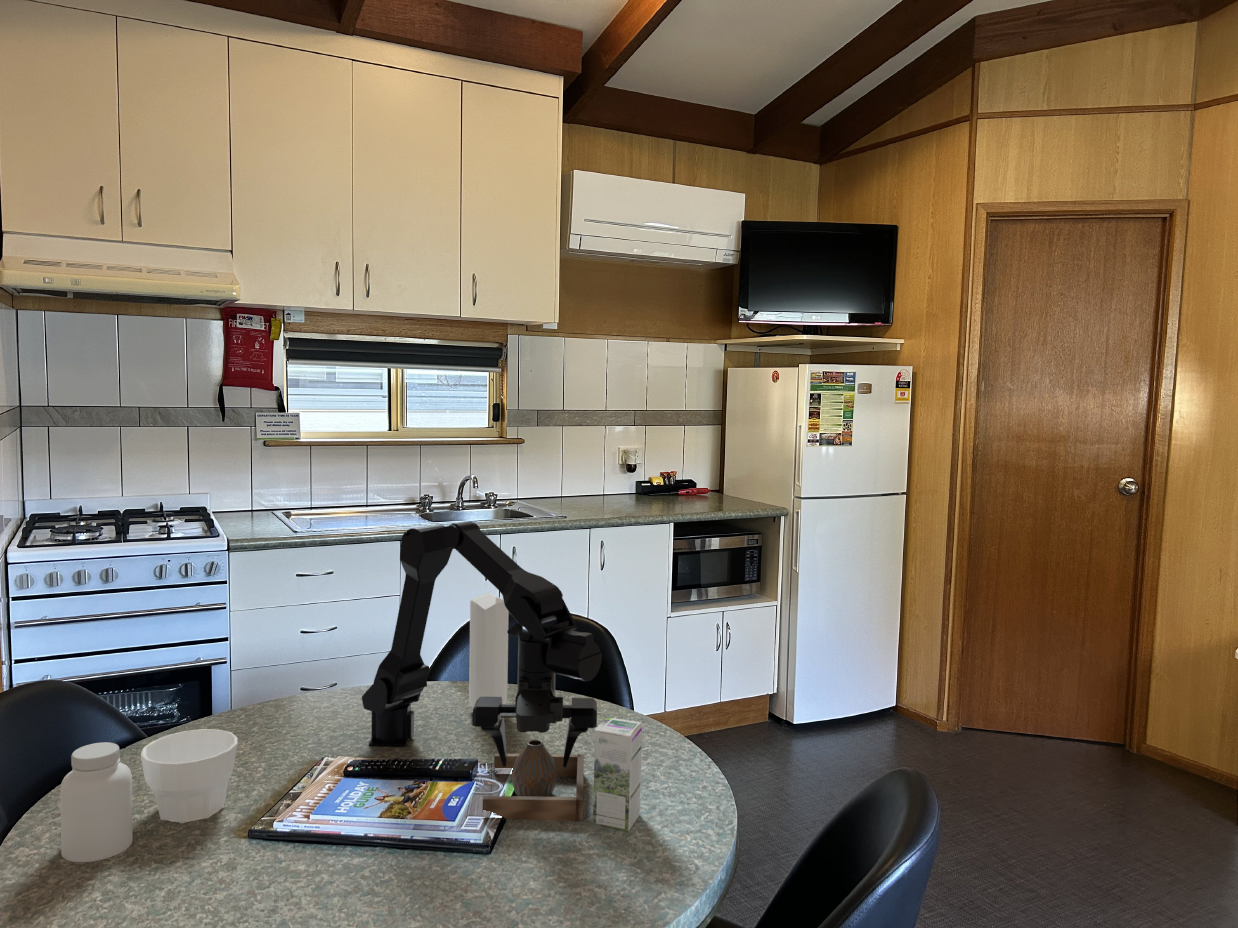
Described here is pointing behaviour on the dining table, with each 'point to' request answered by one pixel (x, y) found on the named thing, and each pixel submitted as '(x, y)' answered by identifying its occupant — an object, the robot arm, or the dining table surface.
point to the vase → (534, 771)
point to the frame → (541, 805)
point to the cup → (190, 772)
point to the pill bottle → (96, 804)
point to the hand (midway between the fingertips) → (534, 765)
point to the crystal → (488, 648)
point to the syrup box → (617, 773)
